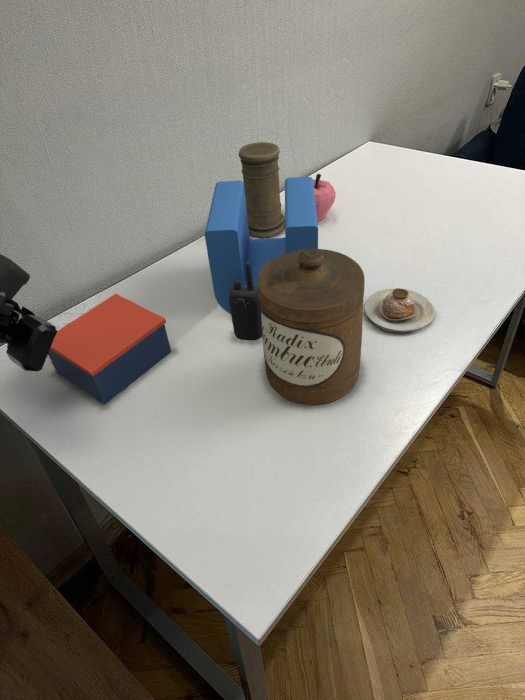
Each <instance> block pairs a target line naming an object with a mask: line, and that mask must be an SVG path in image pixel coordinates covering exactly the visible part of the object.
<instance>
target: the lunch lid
mask: <svg viewBox="0 0 525 700" xmlns="http://www.w3.org/2000/svg"><path fill="white" fill-rule="evenodd" d="M163 324H164V325H166V324H167V320H166V318H165V317H163V316H162V315H160V314H157V313H155V312H153V311H152V310H151V309H147V308H146V307H143V306H141V305H140V304H137V303H135V302H134V301H132V300H131V299H130V300H129V299H128V298H126V297H124V296H122V295H120V294H118V293H114V294H112V295H111V296H109V297H108V298H106V299H104V300H103V301H102V302H100V303H98V304H96V306H94V307H93V308H90V309H89V310H88V311H86V312H85V313H83V314H81V315H80V316H78V317H77V318H75V319H74V320H72V321H71V322H69V323H67V324H66V325H64V326H62V327H61V328H59V329H57V334H56V336H55V337H54V340H53V342H52V345H51V348H50V349H51V350H52V351H54V352H55V353H57V354H58V355H60V356H61V357H63V358H65V359H66V360H68V361H69V362H71V363H72V364H74V365H75V366H77V367H78V368H80V369H81V370H83V371H84V372H86V373H88V374H89V375H91V376H94V375H95V374H97V373H98V372H99V371H101V370H102V369H103V368H105V367H106V366H107V365H109V364H110V363H111V362H113V361H114V360H116V359H117V358H118V357H120V356H121V355H122V354H124V353H125V352H126V351H128V350H129V349H131V348H132V347H133V346H135V345H136V344H137V343H139V342H140V341H141V340H143V339H144V338H146V337H147V336H148V335H150V334H151V333H152V332H154V331H155V330H156V329H158V328H159V327H160V326H162V325H163Z"/></svg>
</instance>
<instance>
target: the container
mask: <svg viewBox="0 0 525 700" xmlns="http://www.w3.org/2000/svg"><path fill="white" fill-rule="evenodd" d="M280 153H281V150H280V148H279V146H278V145H277V144H275V143H273V142H268V141H257V142H252V143H248V144H245V145H242V146H241V147H240V148H239V150H238V158H239V160H240V163H241V174H242V180H243V181H242V182H243V183H244V190H245V200H246V210H247V220H248V230H249V236H252V237H255V238H259V239H268V238H272V237H274V236H277V235H279V234H281V233H282V232H283V230H284V229H285V220H284V215H283V213H282V202H281V193H280V192H281V191H280V173H279V171H280V166H279V158H280V157H279V155H280Z"/></svg>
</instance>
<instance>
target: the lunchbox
mask: <svg viewBox="0 0 525 700" xmlns="http://www.w3.org/2000/svg"><path fill="white" fill-rule="evenodd" d="M165 325H166V324H163V325H162V326H160V327H159V328H158V329H156V330H155V331H154V332H152V333H151V334H150V335H148V336H147V337H146V338H144V339H143V340H141V341H140V342H139V343H137V344H136V345H135V346H133V347H132V348H131V349H129V350H128V351H126V352H125V353H124V354H122V355H121V356H120V357H118V358H117V359H116V360H114V361H113V362H111V363H110V364H109V365H107V366H106V367H105V368H103V369H102V370H101V371H99V372H98V373H97V374H95V375H94V376H91V375H89V374H88V373H86V372H84V371H83V370H81V369H80V368H78V367H77V366H75V365H74V364H72V363H71V362H69V361H68V360H66V359H65V358H63V357H61V356H60V355H58V354H57V353H55V352H54V351H52V350H51V349H50V350H49V353H48V355H47V356H48V357H49V359H50V361H51V363H52V366H53V368H54V370H55V372H56V373H57V374H58V375H59V376H61V377H63V378H64V379H65V380H67V381H68V382H70V384H72V385H74V386H75V387H77V388H78V389H80V390H82V391H83V392H84V393H86V394H87V395H89V397H92V398H93V399H95V400H96V401H98V402H99V403H100V404H102V405H103V406H105V405H107V404H108V403H109V402H111V400H113V399H115V397H117V396H118V395H120V393H122V392H123V391H125V390H126V389H127V388H128V387H130V386H131V385H132V384H133V383H135V382H136V381H137V380H138V379H140V378H141V377H142V376H143V375H145V374H146V373H147V372H149V370H151V369H152V368H154V367H155V366H156V365H157V364H158V363H160V362H161V361H163V359H165V358H166V357H167V356H169V355H170V354H171V353H172V349H171V345H170V341H169V337H168V333H167V330H166V326H165Z"/></svg>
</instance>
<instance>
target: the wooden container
mask: <svg viewBox="0 0 525 700" xmlns="http://www.w3.org/2000/svg"><path fill="white" fill-rule="evenodd" d="M365 282H366V279H365V273H364V270H363V269H362V267H361V265H360V264H359V263H358V262H357V261H356V260H355V259H353V258H351V257H350V256H348V255H346V254H344V253H341V252H338V251H335V250H330V249H324V248H318V249H303V250H297V251H292V252H288V253H285V254H283V255H280V256H278V257H276V258H274V259H272V260H271V261H269V262H268V263H267V264H266V265H265V266H264V267H263V268H262V270H261V271H260V273H259V276H258V293H259V300H260V305H261V319H262V337H261V338H262V348H263V349H262V350H263V356H264V368H265V375H266V379H267V382H268V384H269V386H270V387H271V388H272V389H273V390H274V391H275V392H276V393H277V394H278V395H279V396H281V397H282V398H284V399H286V400H289V401H291V402H293V403H298V404H304V405H321V404H322V405H323V404H327V403H331V402H334V401H336V400H339V399H341V398H343V397H344V396H346V395H347V394H349V393H350V391H351V390H352V389H353V388H354V387H355V386H356V384H357V382H358V380H359V377H360V376H359V375H360V366H361V356H362V343H363V321H364V320H363V319H364V318H363V316H364V297H365Z"/></svg>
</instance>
